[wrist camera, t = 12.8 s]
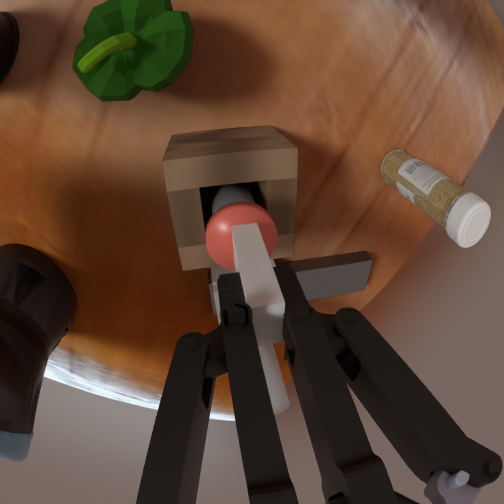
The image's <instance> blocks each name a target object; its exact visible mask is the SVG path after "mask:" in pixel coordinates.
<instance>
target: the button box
mask: <svg viewBox="0 0 504 504" xmlns="http://www.w3.org/2000/svg"><path fill="white" fill-rule="evenodd" d="M162 166H163V172H164V178H165V184H166V190H167V196H168V201H169V207H170V212H171V217H172V222H173V227H174V232H175V237H176V242H177V247H178V251H179V256H180V260H181V265H182V269H183V271H185V270H193V269H201V268H208V267H216V266H220V265H218V264H217V263H216V262H215V261H213V259H212V258H211V257H210V255H209V254H208V251H207V247H206V236H205V232H206V226H207V223H208V221H209V219H210V218H211V217H212V206H211V197H210V186H216V185H225V184H234V183H244V182H247V184H248V187H249V189H250V191H251V194H252V196H253V199H254V201H255V204H257V205H259V206H261V207H262V208H264V209H265V210H266V211H267V212H268V213H269V214H270V216H271V218H272V220H273V222H274V224H275V226H276V229H277V233H278V241H277V245H276V248H275V250H274V252H273V253H272V255H271V256H270V257H269V258H270V259H277V258H284V257H292V256H294V242H295V223H296V201H297V173H298V148H297V147H296V146H295V145H294V144H293V143H292V142H290V141H289V140H288V139H287V138H286V137H284V136H283V135H282V134H281V133H280V132H278V131H277V130H276V129H275V128H273V127H272V126H254V127H240V128H228V129H217V130H208V131H199V132H191V133H184V134H177V135H172V136H171V139H170V141H169V144H168V146H167V149H166V152H165V154H164V157H163V160H162Z"/></svg>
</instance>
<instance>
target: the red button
mask: <svg viewBox="0 0 504 504" xmlns="http://www.w3.org/2000/svg"><path fill="white" fill-rule="evenodd" d="M210 197H211V206H212V217H211V218H210V219H209V221H208V223H207V226H206V232H205V236H206V247H207V251H208V254H209V255H210V257H211V258H212V259H213V261H215V262H216V263H217V264H218V265H220V266H222V267H224V268H227V269H231V270H236V268H235V263H234V252H233V241H232V229H231V226H234V225H242V224H251V223H257V225H258V227H259V230H260V233H261V236H262V239H263V241H264V244H265V247H266V250H267V253H268V256H269V257H270V256H271V255H272V253H273V252H274V250H275V248H276V245H277V241H278V233H277V229H276V226H275V224H274V222H273V220H272V218H271V216H270V214H269V213H268V212H267V211H266V210H265V209H264V208H262V207H261V206H259V205H257V204H255V201H254V199H253V196H252V194H251V191H250V189H249V187H248V184H247V182H244V183H234V184H225V185H216V186H210Z"/></svg>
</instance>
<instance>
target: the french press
mask: <svg viewBox="0 0 504 504" xmlns="http://www.w3.org/2000/svg"><path fill="white" fill-rule="evenodd" d="M18 44H19V30H18V25H17V23H16V20H15V19H14V18H13V16H12V15H10V14H8V13H6V12H0V84H1V83H2V82H3V80H4V79H5V77H6V76H7V75H8V73H9V71H10V69H11V67H12V65H13V62H14V60H15V57H16V53H17V50H18Z"/></svg>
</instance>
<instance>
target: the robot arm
mask: <svg viewBox="0 0 504 504" xmlns="http://www.w3.org/2000/svg"><path fill="white" fill-rule="evenodd" d="M231 229H232V241H233V252H234V263H235V268H236V273H228V274H220V276H219V278H218V280H217V287H218V296H219V304H220V319H221V322H220V325H219V326H218V327H217V328H216V329H215V330H214V331H212V332H210V333H208V334H206V335H202V334H201V333H197V332H191V333H187V334H184V335H183V336H182V337H180V338H179V340H178V342H177V344H176V348H175V351H174V354H173V358H172V361H171V365H170V368H169V372H168V375H167V379H166V383H165V386H164V390H163V394H162V397H161V401H160V405H159V408H158V412H157V416H156V420H155V424H154V428H153V432H152V436H151V440H150V444H149V448H148V453H147V456H146V461H145V465H144V469H143V474H142V478H141V483H140V487H139V492H138V496H137V502H136V504H196V497H197V491H198V485H199V478H200V472H201V465H202V459H203V453H204V447H205V441H206V435H207V428H208V422H209V416H210V410H211V404H212V399H213V393H214V387H215V381H216V377H217V376H220V375H222V374H224V373H226V372H228V375H229V382H230V389H231V395H232V402H233V408H234V414H235V421H236V427H237V432H238V438H239V444H240V450H241V455H242V461H243V467H244V472H245V477H246V482H247V489H248V495H249V500H250V504H299V503H298V500H297V496H296V492H295V489H294V486H293V483H292V482H291V479H290V476H289V473H288V469H287V465H286V461H285V457H284V453H283V449H282V445H281V441H280V437H279V432H278V429H277V424H276V421H275V416H274V412H273V408H272V403H271V399H270V395H269V391H268V387H267V382H266V378H265V374H264V370H263V365H262V361H261V357H260V352H259V348H258V346H263V345H270V344H276V343H281V342H283V338H284V341H285V352H284V361H285V360H288V364H289V367H290V370H291V374H292V377H293V381H294V384H295V387H296V391H297V394H298V398H299V401H300V405H301V408H302V412H303V415H304V418H305V422H306V425H307V429H308V432H309V436H310V439H311V443H312V446H313V449H314V453H315V457H316V460H317V464H318V467H319V470H320V474H321V478H322V490H323V494H324V497H325V502H326V504H419V503H417V502H415V501H413V500H411V499H409V498H407V497H405V496H404V495H402V494H400V493H398V492H396V491H394V490H393V487H392V484H391V482H390V479H389V476H388V474H387V470H386V468H385V465H384V463H383V461H382V460H381V458H380V457H379V456H377V455H375V454H374V453H373V451H372V449H371V446H370V443H369V441H368V438H367V436H366V433H365V430H364V427H363V425H362V422H361V420H360V417H359V414H358V412H357V409H356V407H355V404H354V401H353V399H352V396H351V394H350V391H349V389H348V386H347V384H348V385H349V387H350V388H351V389H352V391H353V392H354V394H355V395H356V396H357V398H358V399H359V400H360V402H361V403H362V405H363V406H364V407H365V409H366V410H367V411H368V413H369V414H370V415H371V417H372V418H373V419H374V421H375V422H376V424H377V425H378V426H379V428H380V429H381V430H382V432H383V433H384V434H385V436H386V437H387V439H388V440H389V441H390V442H391V444H392V445H393V447H394V448H395V449H396V451H397V452H398V453H399V455H400V456H401V458H402V459H403V460H404V462H405V463H406V464H407V466H408V467H409V468H410V469H411V470H412V472H413V473H414V474H415V475H416V476H417V477H418V478H419V479H420V480H422V481H423V482H425V483H426V484H427V485H426V488H425V490H424V495H425V497H427V498H428V499H429V500H430V501H431V502H432V504H473V503H474V501H475V499H476V497H477V495H478V494H479V492H480V490H481V488H482V487H483V486H485V485H487V484H489V483H492V482H494V481H495V480H496V479H497V478H498V477H499V475H500V474H501V471H502V460H501V458H500V456H499V455H498V454H496V453H495V452H493V451H491V450H489V449H488V448H486V447H484V446H482V445H480V444H479V443H477V442H475V441H474V440H472V439H470V438H468V437H467V436H466V435H465V434H464V432H463V431H462V430H461V429H460V427H459V426H458V425H457V424H456V422H455V421H454V420H453V419H452V418H451V416H450V415H449V414H448V413H447V411H446V410H445V409H444V408H443V407H442V406H441V404H440V403H439V402H438V401H437V400H436V398H435V397H434V396H433V395H432V393H431V392H430V391H429V390H428V389H427V387H426V386H425V385H424V384H423V383H422V382H421V380H419V378H418V377H417V376H416V375H415V373H414V372H413V371H412V370H411V369H410V368H409V367H408V365H407V364H406V363H405V362H404V361H403V359H401V357H400V356H399V355H398V354H397V353H396V352H395V350H394V349H393V348H392V347H391V346H390V345H389V344H388V342H387V341H386V340H385V339H384V338H383V337H382V336H381V335H380V334H379V332H378V331H377V330H376V329H375V328H374V327H373V326H372V325H371V324H370V322H369V321H368V320H367V319H366V318H365V317H364V316H363V315H362V314H361V313H360V312H359V311H358V310H356V309H354V308H348V307H346V308H342V309H340V310H338V311H337V313H336V314H335V315H333V314H323V313H319V312H316V311H315V309H314V308H312V307H311V306H310V305H309V304H308V301H307V299H306V297H305V294H304V292H303V290H302V287H301V285H300V283H299V280H298V279H297V276H296V273H295V271H294V270H293V269H292V268H291V267H290V266H288V265H284V266H276V267H272V264H271V261H270V258H269V256H268V253H267V250H266V247H265V244H264V241H263V239H262V236H261V233H260V230H259V227H258V225H257V223H251V224H242V225H234V226H231ZM76 310H77V302H76V297H75V293H74V291H73V289H72V286H71V285H70V283H69V281H68V280H67V278H66V277H65V275H64V274H63V273H62V272H61V270H60V269H59V268H58V267H57V266H56V265H55V264H54V263H53V262H51V261H50V260H49V259H48V258H46V257H45V256H44V255H42V254H40V253H39V252H37V251H35V250H33V249H31V248H28V247H25V246H22V245H17V244H7V245H3V246H0V457H3V458H5V459H8V460H11V461H15V462H21V461H23V460H24V459H26V457H27V455H28V451H29V447H30V442H31V438H32V437H33V426H34V420H35V414H36V408H37V403H38V398H39V394H40V389H41V385H42V380H43V376H44V372H45V368H46V365H47V361H48V358H49V355H50V354H51V353H52V351H53V350H54V349H55V348H56V346H57V345H58V344H59V342H60V341H61V339H62V337H64V336H65V335H66V334H67V333H68V331H69V330H70V328H71V326H72V324H73V320H74V317H75V314H76ZM346 383H347V384H346Z"/></svg>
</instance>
